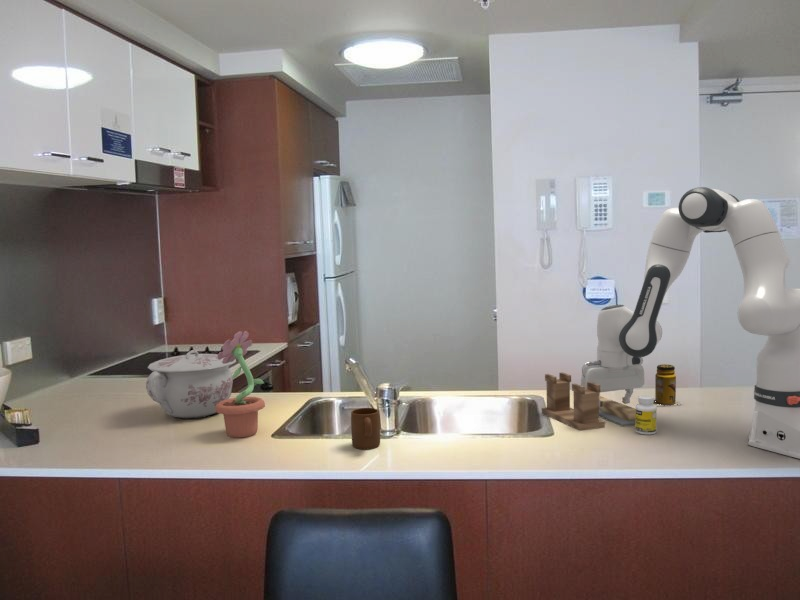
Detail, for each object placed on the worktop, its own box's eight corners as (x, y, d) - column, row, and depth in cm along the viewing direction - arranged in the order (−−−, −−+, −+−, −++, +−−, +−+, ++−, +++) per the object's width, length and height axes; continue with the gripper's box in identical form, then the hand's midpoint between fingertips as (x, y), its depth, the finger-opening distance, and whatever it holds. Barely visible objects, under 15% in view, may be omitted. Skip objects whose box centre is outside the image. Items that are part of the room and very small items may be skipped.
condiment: (681, 405, 223) (681, 367, 222) (655, 406, 222) (655, 368, 220) (669, 399, 230) (669, 362, 229) (644, 401, 229) (644, 364, 228)
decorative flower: (246, 424, 216) (240, 325, 213) (279, 430, 208) (273, 328, 205) (206, 437, 203) (200, 332, 200) (240, 444, 195) (233, 335, 192)
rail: (637, 419, 205) (637, 409, 205) (629, 421, 204) (629, 410, 204) (597, 404, 224) (597, 395, 224) (589, 405, 223) (589, 396, 223)
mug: (384, 453, 183) (383, 418, 182) (354, 456, 182) (353, 420, 181) (378, 440, 195) (377, 406, 194) (350, 442, 194) (349, 408, 193)
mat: (652, 422, 204) (652, 420, 204) (622, 426, 201) (622, 424, 201) (603, 403, 227) (603, 401, 227) (575, 407, 224) (575, 405, 224)
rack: (604, 427, 201) (604, 385, 200) (579, 430, 199) (579, 387, 197) (564, 409, 221) (564, 371, 220) (541, 412, 218) (541, 374, 217)
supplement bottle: (632, 432, 195) (632, 397, 194) (640, 428, 199) (640, 393, 198) (651, 436, 191) (651, 400, 190) (659, 431, 195) (659, 396, 194)
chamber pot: (234, 399, 248) (231, 340, 246) (243, 418, 222) (240, 353, 220) (149, 408, 240) (145, 347, 238) (148, 429, 214) (143, 360, 212)
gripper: (588, 364, 206) (588, 411, 208) (647, 358, 213) (647, 403, 214) (576, 360, 212) (576, 406, 214) (634, 354, 219) (634, 399, 220)
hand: (612, 404), depth 214 cm, fingers open, 8 cm apart
